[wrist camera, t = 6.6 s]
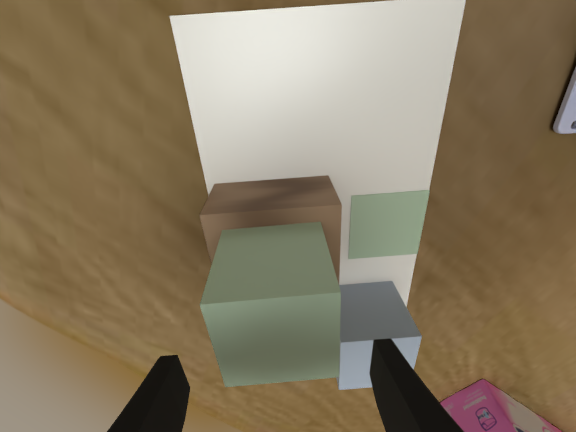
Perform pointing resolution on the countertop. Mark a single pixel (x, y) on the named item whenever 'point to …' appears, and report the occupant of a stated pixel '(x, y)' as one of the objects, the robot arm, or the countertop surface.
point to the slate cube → (372, 329)
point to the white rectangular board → (329, 111)
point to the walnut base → (274, 209)
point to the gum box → (492, 411)
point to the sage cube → (273, 305)
